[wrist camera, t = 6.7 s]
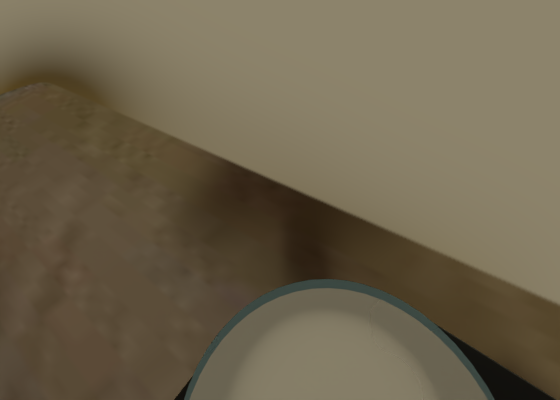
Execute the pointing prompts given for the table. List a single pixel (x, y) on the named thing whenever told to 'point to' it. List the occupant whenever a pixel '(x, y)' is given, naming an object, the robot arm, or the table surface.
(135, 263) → the table surface
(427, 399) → the cylinder
